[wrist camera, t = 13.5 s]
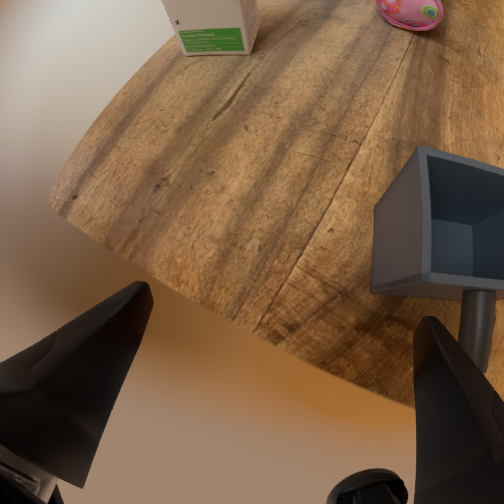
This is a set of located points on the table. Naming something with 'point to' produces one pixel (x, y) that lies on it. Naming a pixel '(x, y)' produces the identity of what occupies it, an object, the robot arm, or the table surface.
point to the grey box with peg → (444, 240)
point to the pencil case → (412, 13)
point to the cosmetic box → (214, 25)
